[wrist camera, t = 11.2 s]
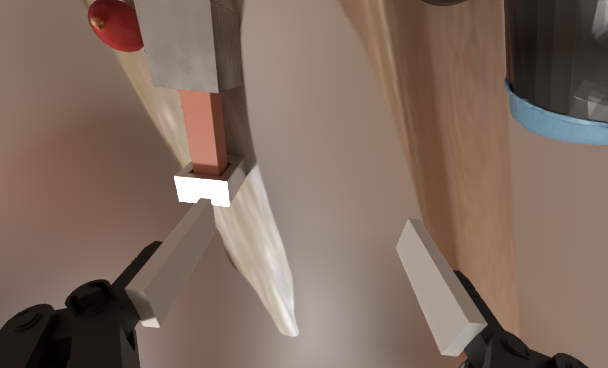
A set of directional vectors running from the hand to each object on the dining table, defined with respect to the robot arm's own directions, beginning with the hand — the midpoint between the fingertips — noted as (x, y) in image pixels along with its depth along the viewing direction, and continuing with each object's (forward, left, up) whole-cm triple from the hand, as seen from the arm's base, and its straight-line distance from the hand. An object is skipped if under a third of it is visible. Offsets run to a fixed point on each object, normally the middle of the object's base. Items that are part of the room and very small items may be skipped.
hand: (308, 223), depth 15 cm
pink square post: (+2, -16, -23) cm, 28 cm away
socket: (+10, -16, -27) cm, 33 cm away
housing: (-9, -16, -27) cm, 33 cm away
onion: (-11, -27, -27) cm, 40 cm away
